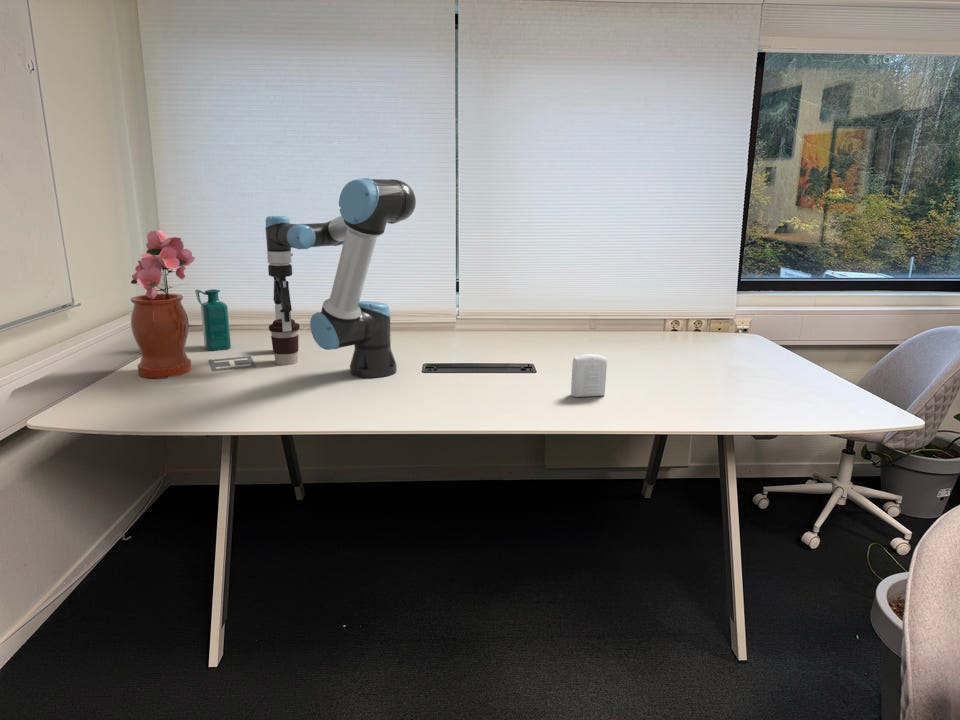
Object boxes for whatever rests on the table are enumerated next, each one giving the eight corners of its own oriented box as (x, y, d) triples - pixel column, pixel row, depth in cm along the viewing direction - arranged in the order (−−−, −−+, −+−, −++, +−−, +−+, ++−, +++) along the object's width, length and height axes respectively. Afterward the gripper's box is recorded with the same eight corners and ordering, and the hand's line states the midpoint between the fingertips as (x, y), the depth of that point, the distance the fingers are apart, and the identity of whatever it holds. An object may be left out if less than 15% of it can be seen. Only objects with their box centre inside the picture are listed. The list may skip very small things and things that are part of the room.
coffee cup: (265, 365, 224) (262, 322, 220) (282, 358, 233) (279, 316, 229) (291, 368, 221) (288, 324, 217) (307, 361, 230) (304, 318, 226)
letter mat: (257, 368, 221) (256, 366, 221) (212, 372, 215) (211, 371, 215) (250, 357, 235) (250, 355, 235) (208, 361, 229) (208, 359, 229)
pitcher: (227, 344, 253) (222, 287, 248) (232, 349, 246) (226, 290, 241) (200, 347, 248) (194, 288, 243) (204, 352, 241) (198, 292, 236)
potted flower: (210, 360, 230) (198, 228, 218) (189, 381, 205) (173, 233, 194) (153, 361, 227) (137, 228, 216) (125, 382, 203) (105, 233, 192)
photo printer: (601, 392, 198) (603, 351, 195) (607, 396, 194) (609, 355, 191) (568, 394, 196) (570, 353, 193) (573, 398, 192) (575, 357, 189)
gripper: (298, 268, 209) (302, 333, 215) (284, 259, 231) (288, 319, 236) (274, 269, 206) (278, 335, 212) (262, 259, 228) (266, 320, 233)
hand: (283, 327), depth 224 cm, fingers open, 13 cm apart
